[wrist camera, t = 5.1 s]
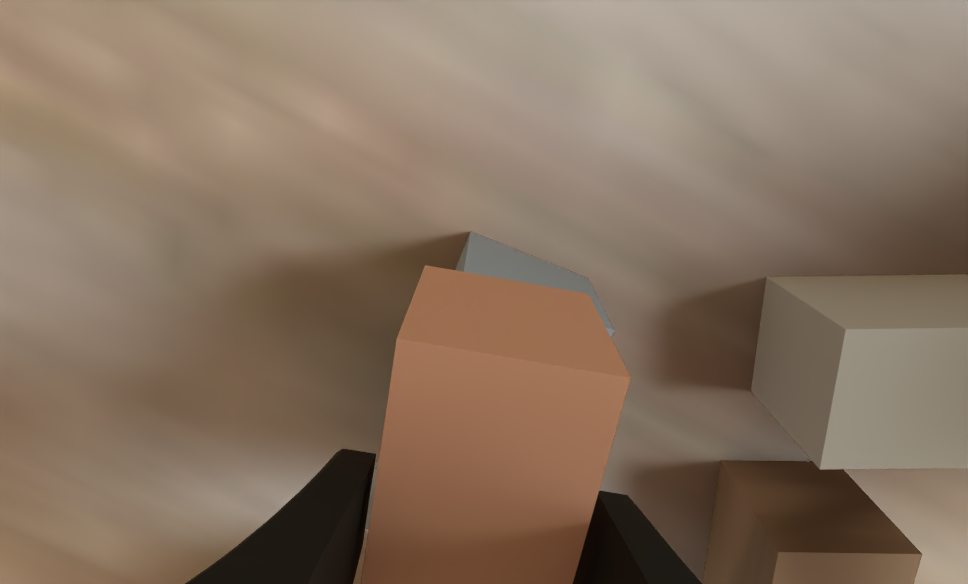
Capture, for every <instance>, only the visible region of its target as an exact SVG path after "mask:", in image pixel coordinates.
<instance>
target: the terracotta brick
mask: <svg viewBox="0 0 968 584" xmlns="http://www.w3.org/2000/svg"><path fill="white" fill-rule="evenodd" d="M630 380H631V377H630V375H629V373H628V371H627V369H626V367H625V365H624V363H623V361H622V359H621V357H620V355H619V353H618V351H617V349H616V347H615V345H614V343H613V341H612V339H611V337H610V335H609V333H608V331H607V329H606V327H605V325H604V323H603V321H602V319H601V317H600V316H599V314H598V312H597V310H596V308H595V306H594V304H593V302H592V300H591V298H590V296H589V294H586V293H581V292H575V291H569V290H564V289H558V288H552V287H547V286H541V285H535V284H530V283H524V282H518V281H513V280H507V279H501V278H496V277H490V276H484V275H479V274H473V273H466V272H462V271H456V270H450V269H445V268H439V267H433V266H428V265H425V267H424V269H423V272H422V274H421V277H420V279H419V282H418V285H417V287H416V290H415V292H414V295H413V298H412V300H411V303H410V305H409V308H408V310H407V313H406V316H405V318H404V321H403V323H402V326H401V329H400V331H399V334H398V336H397V340H396V347H395V354H394V360H393V367H392V374H391V381H390V388H389V395H388V401H387V408H386V415H385V422H384V429H383V435H382V442H381V449H380V456H379V463H378V469H377V476H376V483H375V490H374V497H373V503H372V510H371V517H370V524H369V531H368V538H367V544H366V551H365V558H364V565H363V572H362V578H361V584H573V581H574V577H575V574H576V570H577V567H578V563H579V559H580V556H581V552H582V549H583V545H584V542H585V538H586V535H587V531H588V528H589V524H590V521H591V517H592V514H593V510H594V507H595V503H596V500H597V496H598V493H599V489H600V486H601V482H602V478H603V475H604V471H605V468H606V464H607V461H608V457H609V454H610V450H611V447H612V443H613V440H614V436H615V433H616V429H617V426H618V422H619V419H620V415H621V412H622V408H623V405H624V401H625V398H626V394H627V390H628V387H629V383H630Z"/></svg>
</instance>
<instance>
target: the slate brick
mask: <svg viewBox="0 0 968 584" xmlns="http://www.w3.org/2000/svg"><path fill="white" fill-rule="evenodd" d="M455 270H456V271H462V272H466V273H473V274H479V275H484V276H490V277H496V278H501V279H507V280H513V281H518V282H524V283H530V284H535V285H541V286H547V287H552V288H558V289H564V290H569V291H575V292H581V293H586V294H589V296H590V298H591V300H592V302H593V304H594V306H595V308H596V310H597V312H598V314H599V316H600V317H601V319H602V321H603V323H604V325H605V327H606V329H607V331H608V333H609V335H610V337H612V335H613V333H614V332H615V330H614V328H613V326H612V324H611V322H610V320H609V318H608V316H607V314H606V312H605V310H604V308H603V306H602V304H601V302H600V301H599V299H598V297H597V295H596V293H595V291H594V289H593V287H592V285H591V283H590V281H589V279H588V278H586V277H583V276H581V275H578V274H576V273H573V272H571V271H568V270H566V269H563V268H561V267H558V266H556V265H553V264H551V263H548V262H546V261H543V260H541V259H538V258H536V257H533V256H531V255H528V254H526V253H524V252H521V251H519V250H516V249H514V248H511V247H509V246H506V245H504V244H501V243H499V242H496V241H494V240H491V239H489V238H486V237H484V236H481V235H479V234H476V233H474V232H470V234H469V236H468V239H467V241H466V244H465V246H464V249H463V251H462V254H461V256H460V258H459V261H458V263H457V266H456V268H455ZM378 463H379V461H378ZM377 469H378V465H377V468H376V471H375V474H374V477H373V480H372V485H371V492H370V499H369V505H368V512H367V519H366V526H365V528H366V529H369V524H370V517H371V510H372V503H373V497H374V490H375V483H376V476H377Z"/></svg>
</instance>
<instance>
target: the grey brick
mask: <svg viewBox="0 0 968 584" xmlns="http://www.w3.org/2000/svg"><path fill="white" fill-rule="evenodd" d="M751 392H752V393H753V394H754V395H755V396H756V398H757V399H758V400H759V401H760V402H761V403H762V404H763V406H764V407H765V408H766V409H767V410H768V411H769V412H770V414H771V415H772V416H773V417H774V418H775V419H776V420H777V421H778V423H779V424H780V425H781V426H782V427H783V428H784V429H785V431H786V432H787V433H788V434H789V435H790V436H791V437H792V439H793V440H794V441H795V442H796V443H797V444H798V445H799V447H800V448H801V449H802V450H803V451H804V452H805V453H806V454H807V456H808V457H809V458H810V459H811V460H812V461H813V462H814V464H815V465H816V466H817V467H818V468H819V469H820V470H821V469H929V468H968V274H952V275H874V276H797V277H766V284H765V291H764V299H763V306H762V313H761V320H760V328H759V335H758V342H757V350H756V357H755V364H754V372H753V379H752V386H751Z"/></svg>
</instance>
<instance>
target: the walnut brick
mask: <svg viewBox="0 0 968 584" xmlns="http://www.w3.org/2000/svg"><path fill="white" fill-rule="evenodd" d="M921 557H922V553H921V552H920V551H919V550H918V549H917V548H916V547H915V546H914V545H913V544H912V543H911V542H910V541H909V539H908V538H907V537H906V536H905V535H904V534H903V533H902V532H901V531H900V530H899V529H898V528H897V527H896V526H895V524H894V523H893V522H892V521H891V520H890V519H889V518H888V517H887V516H886V515H885V514H884V513H883V512H882V511H881V510H880V508H879V507H878V506H877V505H876V504H875V503H874V502H873V501H872V500H871V499H870V498H869V497H868V496H867V495H866V493H865V492H864V491H863V490H862V489H861V488H860V487H859V486H858V485H857V484H856V483H855V482H854V481H853V480H852V478H851V477H850V476H849V475H848V474H847V473H846V472H845V471H844V470H843V469H821V470H820V469H819V468H818V467H817V466H816V465H815V464H814V462H800V461H722V460H721V464H720V471H719V477H718V484H717V490H716V497H715V503H714V510H713V517H712V523H711V530H710V536H709V543H708V549H707V556H706V562H705V569H704V575H703V582H702V584H914V581H915V577H916V574H917V570H918V567H919V564H920V560H921Z"/></svg>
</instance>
